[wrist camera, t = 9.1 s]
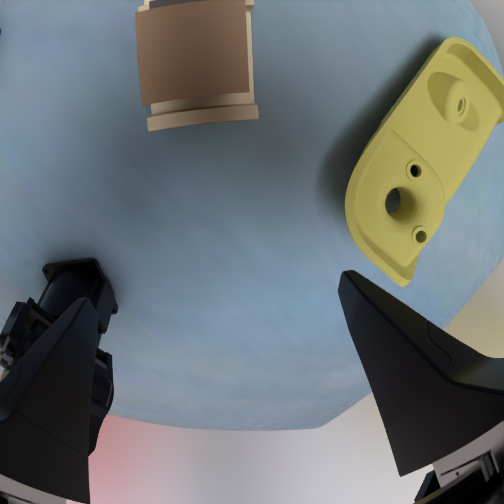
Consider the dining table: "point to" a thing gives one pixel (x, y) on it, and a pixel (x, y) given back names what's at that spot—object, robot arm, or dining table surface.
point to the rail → (207, 99)
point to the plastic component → (422, 155)
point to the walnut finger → (192, 49)
